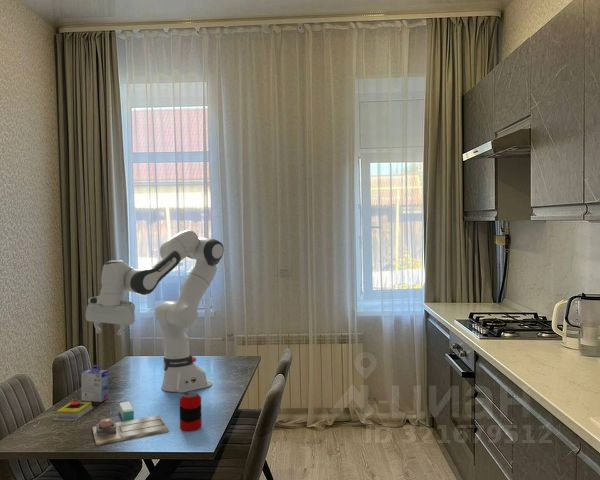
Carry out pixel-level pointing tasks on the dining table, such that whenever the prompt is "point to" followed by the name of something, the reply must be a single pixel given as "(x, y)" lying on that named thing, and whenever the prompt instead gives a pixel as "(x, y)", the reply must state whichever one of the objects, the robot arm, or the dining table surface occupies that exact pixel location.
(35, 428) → the dining table surface
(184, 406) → the soda can
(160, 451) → the dining table surface
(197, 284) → the robot arm
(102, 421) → the button
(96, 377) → the ink cartridge box
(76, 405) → the emergency button
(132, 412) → the marker
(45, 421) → the dining table surface
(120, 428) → the board
